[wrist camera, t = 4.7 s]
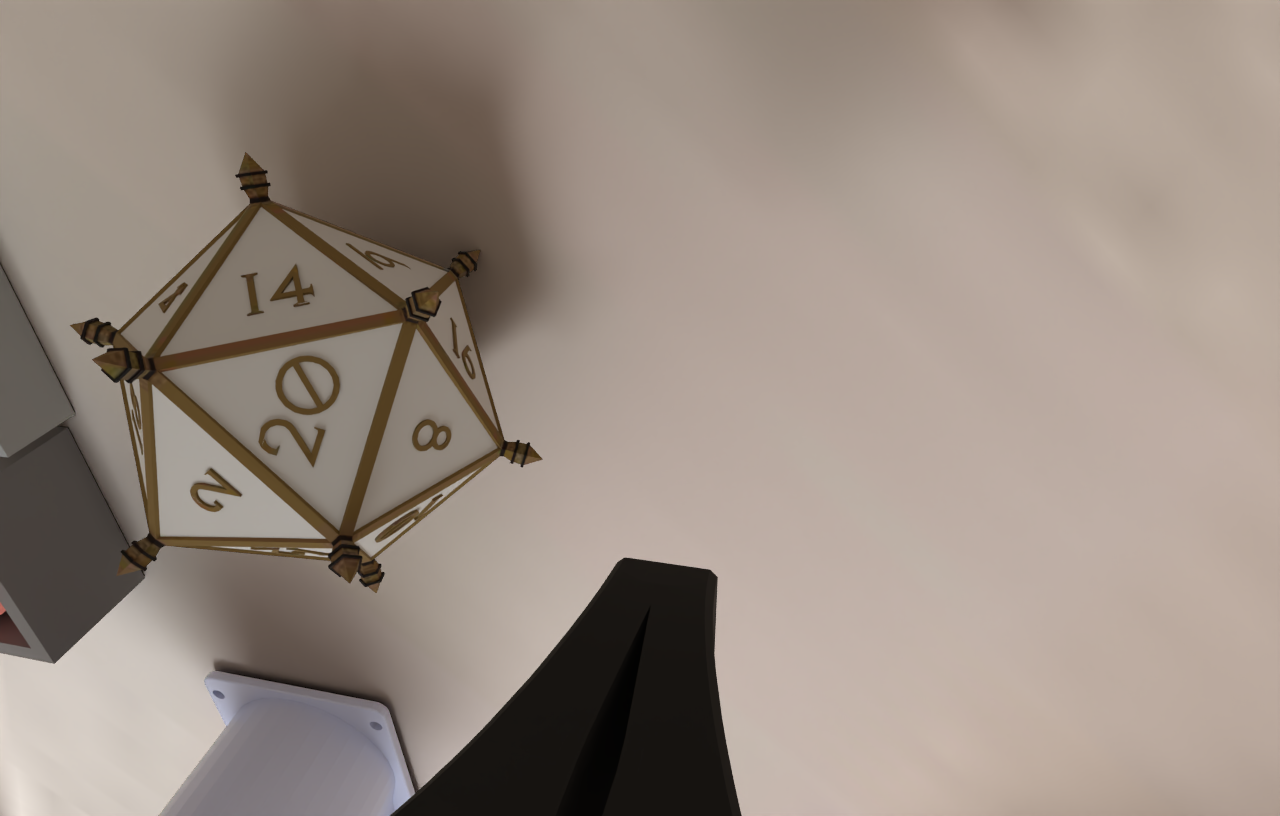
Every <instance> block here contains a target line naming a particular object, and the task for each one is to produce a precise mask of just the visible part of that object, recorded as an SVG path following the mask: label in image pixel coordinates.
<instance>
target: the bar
mask: <svg viewBox="0 0 1280 816" xmlns="http://www.w3.org/2000/svg"><path fill="white" fill-rule="evenodd" d="M73 415H75V413H74V411H73V409H72V407H71V405H70V403H69V401H68V399H67V397H66V395H65V393H64V391H63V389H62V387H61V385H60V383H59V381H58V379H57V377H56V375H55V373H54V371H53V369H52V367H51V365H50V363H49V361H48V359H47V357H46V355H45V353H44V351H43V349H42V347H41V345H40V343H39V341H38V339H37V337H36V335H35V333H34V331H33V329H32V327H31V325H30V323H29V321H28V319H27V317H26V315H25V313H24V311H23V309H22V307H21V305H20V303H19V301H18V299H17V297H16V295H15V293H14V291H13V289H12V287H11V285H10V283H9V281H8V279H7V277H6V275H5V273H4V271H3V269H2V267H1V265H0V457H7V458H8V457H10V456H11V455H13V454H14V453H16V452H18V451H19V450H21V449H22V448H24V447H25V446H27V445H28V444H30V443H31V442H33V441H35V440H36V439H38V438H39V437H41V436H42V435H44V434H45V433H47V432H48V431H50V430H52V429H53V428H55V427H56V426H58V425H59V424H61V423H62V422H64V421H65V420H67V419H69V418H70V417H72V416H73Z"/></svg>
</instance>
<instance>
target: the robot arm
mask: <svg viewBox="0 0 1280 816" xmlns="http://www.w3.org/2000/svg"><path fill="white" fill-rule="evenodd" d="M717 579H718V577H717V576H716V575H715V574H714V573H713V572H712V571H711V570H708V569H701V568H694V567H687V566H680V565H673V564H667V563H660V562H653V561H646V560H639V559H632V558H623V559H622V560H620V561H619V562H617V564H616V565H615V567H614V568H613V570H612V571H611V573H610V575H609V576H608V577H607V579H606V580H605V582H604V583H603V585H602V586H601V588H600V589H599V591H598V592H597V593H596V595H595V596H594V598H593V599H592V600H591V602H590V603H589V604H588V606H587V607H586V608H585V610H584V611H583V612H582V614H581V615H580V616H579V618H578V619H577V620H576V622H575V623H574V624H573V625H572V627H571V628H570V629H569V631H568V632H567V633H566V634H565V636H564V637H563V638H562V639H561V640H560V642H559V643H558V644H557V645H556V647H555V648H554V649H553V650H552V651H551V653H550V654H549V655H548V656H547V658H546V659H545V660H544V661H543V662H542V664H541V665H540V666H539V667H538V668H537V670H536V671H535V672H534V673H533V674H532V676H531V677H530V678H529V679H528V680H527V681H526V682H525V683H524V685H523V686H522V687H521V688H520V689H519V690H518V691H517V692H516V693H515V694H514V695H513V697H512V698H511V699H510V700H509V701H508V702H507V703H506V704H505V705H504V706H503V707H502V709H501V710H500V711H499V712H498V713H497V714H496V715H495V716H494V717H493V718H492V719H491V721H490V722H489V723H488V724H487V725H486V726H485V727H484V728H483V729H482V730H481V731H480V732H479V733H478V734H477V735H476V736H475V737H474V738H473V739H472V740H471V741H470V742H469V743H468V744H467V745H466V746H465V747H464V748H463V749H462V750H461V751H460V752H459V753H458V754H457V755H456V756H455V757H454V758H453V759H452V760H451V761H450V762H449V763H448V764H447V765H445V766H444V767H443V768H442V769H441V770H440V771H439V772H438V773H437V774H436V775H435V776H434V777H433V778H432V779H431V780H430V781H429V782H427V783H426V784H425V785H424V786H423V787H422V788H421V789H420V790H419V791H417V792H416V793H415V791H414V788H413V785H412V782H411V778H410V775H409V772H408V769H407V766H406V763H405V759H404V756H403V753H402V750H401V747H400V744H399V740H398V737H397V734H396V731H395V728H394V725H393V722H392V718H391V715H390V712H389V710H388V708H387V707H386V706H385V705H383V704H381V703H379V702H375V701H370V700H365V699H360V698H355V697H349V696H344V695H339V694H334V693H329V692H324V691H318V690H313V689H308V688H303V687H298V686H293V685H287V684H282V683H277V682H272V681H267V680H262V679H256V678H251V677H246V676H241V675H236V674H231V673H225V672H220V671H212V672H210V673H209V674H208V675H207V677H206V678H205V680H204V682H205V685H206V687H207V689H208V691H209V693H210V695H211V697H212V699H213V701H214V703H215V705H216V707H217V709H218V711H219V713H220V715H221V717H222V719H223V721H224V723H225V725H226V728H225V729H224V730H223V732H222V733H221V734H220V736H219V737H218V738H217V740H216V741H215V742H214V743H213V745H212V746H211V747H210V749H209V750H208V751H207V753H206V754H205V755H204V757H203V758H202V759H201V760H200V762H199V763H198V764H197V766H196V767H195V768H194V770H193V771H192V772H191V774H190V775H189V776H188V778H187V779H186V780H185V781H184V783H183V784H182V785H181V787H180V788H179V789H178V791H177V792H176V793H175V795H174V796H173V797H172V798H171V800H170V801H169V802H168V804H167V805H166V806H165V808H164V809H163V810H162V812H161V813H160V814H159V816H741V811H740V807H739V803H738V798H737V794H736V789H735V785H734V780H733V775H732V770H731V765H730V760H729V755H728V750H727V745H726V739H725V733H724V727H723V721H722V715H721V707H720V700H719V692H718V685H717V677H716V668H715V657H714V648H715V625H716V602H717Z"/></svg>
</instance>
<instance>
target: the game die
mask: <svg viewBox="0 0 1280 816" xmlns="http://www.w3.org/2000/svg"><path fill="white" fill-rule="evenodd" d="M266 173H268V172H267V170H265V171H264V170H263V169H262V168H261V167H260V166H259V165H258V164H257V163H256V162H255V161H254V160H253V159H252V158H251V157H250V156H249V155H248V154H247V153H246V152H245V155H244V159H243V162H242V165H241V168H240V171H239V174H237V175H235V176H236V178H237V177H239V178H240V181H241V184H242V187H240V189H241V190H244V191H245V192H246V194H247V195H248V197H249V198H250V204H249V205H248V206H247V207H246V208H245V209H244V210H243V211H242V212H241V213H240V214H239V215H238V216H237V217H236V218H235V219H234V220H233V221H232V222H231V223H229V224H228V225H227V226H226V227H225V228H224V229H223V230H222V231H221V232H220V233H219V234H218V235H217V236H216V237H215V238H214V239H213V240H212V241H211V242H210V243H209V244H208V245H207V246H206V247H205V248H204V249H202V250H201V251H200V252H199V253H198V254H197V255H196V256H195V257H194V258H193V259H192V260H191V261H190V262H189V263H188V264H187V265H186V266H185V267H184V268H183V269H182V270H181V271H180V272H179V273H178V274H177V275H176V276H174V277H173V278H172V279H171V280H170V281H169V282H168V283H167V284H166V285H165V286H164V287H163V288H162V289H161V290H160V291H159V292H158V293H157V294H156V295H155V296H154V297H153V298H152V299H151V300H150V301H149V302H147V303H146V304H145V305H144V306H143V307H142V308H141V309H140V310H139V311H138V312H137V313H136V314H135V315H134V316H133V317H132V318H131V319H130V320H129V321H128V322H127V323H126V324H125V325H124V326H123V327H122V328H121V329H119V330H117V329H115V328H114V327H112V326H111V323H110V322H106V323H103V322H100V321H99V318H94V319H91V320H88V321H86V322H83V323H78V324H73V325H70V326H71V327H72V328H73V329H74V330H75V331H76V332H77V333H79V334H80V335H81V339H82V340H83V341H84V342H86V343H87V344H89V345H91V344H92V343H95V344H97V345H98V346H99V347H102V348H103V347H104V346H105V345H113V348H110V349H107V353H105V354H103V355H101V356H98V357H96V358H94V359H92V360H93V361H94V362H95V363H96V364H98V365H99V366H100V367H101V368H102V369H101V371H103V372H104V373H105V374H106V375H107V376H108V377H109V378H110V379H111V380H112V381H113V382H115V383H118V382H119V381H120V384H121V389H122V394H123V399H124V405H125V410H126V415H127V420H128V425H129V430H130V435H131V441H132V446H133V451H134V456H135V461H136V466H137V471H138V477H139V482H140V487H141V492H142V497H143V502H144V507H145V513H146V518H147V523H148V528H149V534H148V536H147V537H146V538H144V539H142V540H140V541H138V542H137V541H133V542H132V544H133V545H132V546H131V547H130V548H128V549H127V550H122V551H120V552H121V553H122V557H121V561H120V564H119V568H118V572H117V575H116V576H119V575H123V574H126V573H130V572H134V571H138V570H144V571H146V570H147V568H146V566H147V565H148V564H149V563H150V562H151V561H152V560H153V561H155V560H156V559H157V558H156V555H157V553H158V552H159V550H160V548H162V547H163V546H175V547H186V548H197V549H208V550H219V551H229V552H240V553H251V554H262V555H273V556H283V557H294V558H305V559H316V560H327V561H331V564H330V565H329V566H328V567H329V569H330V570H332V571H333V572H334V573H335V574H337V575H338V576H339V577H341V576H342V577H343V578H344V579H345V580H346V581H348V582H349V583H351V581H352V579H353V578H354V576H355V574H356V572H358V574H359V575H360V576H361V579H360V580H359V581H360V582H361V583H362V584H363V585H364V586H365V587H367V586H368V587H369V588H370V589H371V590H373V591H374V592H375V593H377V590H378V587H379V584H380V582H381V581H382V579H383V577H384V572H381V569H380V568H381V564H378V563H377V562H376V561H375V558H376V557H377V556H378V555H379V554H380V553H382V552H383V551H384V550H385V549H387V548H388V547H389V546H390V545H391V544H393V543H394V542H395V541H396V540H398V539H399V538H400V537H401V536H402V535H404V534H405V533H406V532H407V531H409V530H410V529H411V528H412V527H413V526H415V525H416V524H417V523H418V522H420V521H421V520H422V519H423V518H425V517H426V516H427V515H428V514H429V513H431V512H432V511H433V510H434V509H436V508H437V507H438V506H439V505H440V504H442V503H443V502H444V501H445V500H447V499H448V498H449V497H450V496H451V495H453V494H454V493H455V492H456V491H458V490H459V489H460V488H461V487H462V486H464V485H465V484H466V483H467V482H469V481H470V480H471V479H472V478H474V477H475V476H476V475H477V474H478V473H480V472H481V471H482V470H483V469H485V468H486V467H487V466H488V465H489V464H491V463H492V462H493V461H494V460H496V459H497V458H498V457H499V456H504V457H506V458H507V459H509V460H510V461H511V462H510V463H512V464H513V462H515V463H518V464H521V467H523V465H525V464H529V463H532V462H535V461H539V460H542V458H541V457H540V456H539V455H538V454H537V453H536V451H535V450H534V449H533V448H532V447H531V446H530V443H529V442H528V443H527V444H524V443H519V442H520V440H517V442H507V441H505V440H504V437H503V434H502V430H501V427H500V423H499V420H498V416H497V413H496V409H495V406H494V402H493V399H492V395H491V392H490V388H489V385H488V382H487V378H486V375H485V371H484V368H483V364H482V361H481V357H480V354H479V350H478V347H477V343H476V340H475V336H474V333H473V329H472V326H471V322H470V319H469V316H468V312H467V309H466V305H465V302H464V298H463V295H462V291H461V288H460V284H459V281H458V280H459V278H462V277H464V276H467V277H468V276H469V273H470V272H471V271H473V270H474V271H476V270H477V260H478V257H479V253H480V250H476V251H470V252H461V251H460V252H459V253H458V254H459V256H458V257H457V258H453V259H452V261H453V262H452V264H451V266H450V268H447V269H446V268H444V267H441V266H439V265H436V264H434V263H431V262H428V261H426V260H423V259H421V258H418V257H415V256H413V255H410V254H408V253H405V252H403V251H400V250H397V249H395V248H392V247H390V246H387V245H384V244H382V243H379V242H377V241H374V240H372V239H369V238H366V237H364V236H361V235H359V234H356V233H353V232H351V231H348V230H346V229H343V228H340V227H338V226H335V225H333V224H330V223H328V222H325V221H322V220H320V219H317V218H315V217H312V216H309V215H307V214H304V213H302V212H299V211H297V210H294V209H291V208H289V207H286V206H284V205H281V204H278V203H276V202H273V201H271V200H270V199H269V197H268V186H271V185H270V183H267V179H266V175H265V174H266Z"/></svg>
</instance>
